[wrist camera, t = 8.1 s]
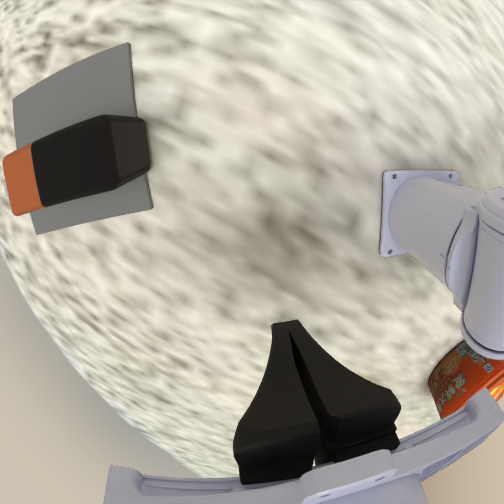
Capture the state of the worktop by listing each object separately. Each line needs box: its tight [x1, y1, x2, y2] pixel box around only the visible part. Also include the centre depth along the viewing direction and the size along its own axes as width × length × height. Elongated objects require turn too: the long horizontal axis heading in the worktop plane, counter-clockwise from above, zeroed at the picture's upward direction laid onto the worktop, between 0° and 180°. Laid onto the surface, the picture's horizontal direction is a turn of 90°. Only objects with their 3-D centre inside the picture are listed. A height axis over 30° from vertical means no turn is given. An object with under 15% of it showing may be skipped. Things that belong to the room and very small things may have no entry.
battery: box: [3, 114, 150, 216], centre depth 15 cm, size 4×7×10 cm
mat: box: [13, 42, 153, 235], centre depth 17 cm, size 13×14×1 cm
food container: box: [428, 340, 504, 419], centre depth 29 cm, size 16×16×11 cm
